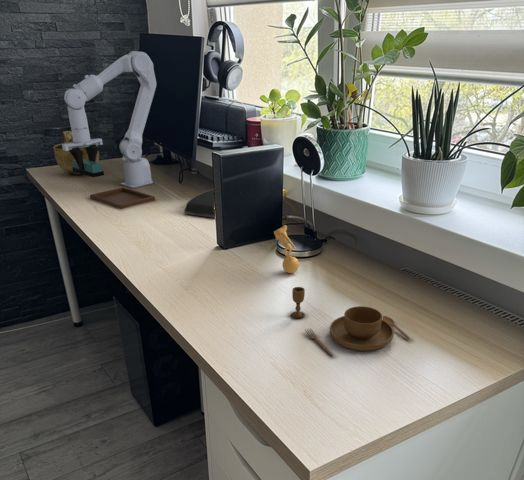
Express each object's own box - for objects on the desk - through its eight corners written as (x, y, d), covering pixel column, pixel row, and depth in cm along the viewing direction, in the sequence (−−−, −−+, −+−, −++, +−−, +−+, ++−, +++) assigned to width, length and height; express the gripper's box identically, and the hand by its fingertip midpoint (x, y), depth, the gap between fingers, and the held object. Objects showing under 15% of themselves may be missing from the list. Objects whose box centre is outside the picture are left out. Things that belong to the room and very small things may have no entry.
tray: (123, 191, 187) (122, 186, 186) (155, 200, 176) (154, 196, 176) (90, 199, 179) (89, 194, 178) (121, 209, 168) (120, 205, 167)
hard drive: (181, 214, 163) (180, 201, 161) (213, 198, 178) (212, 186, 176) (217, 219, 158) (216, 206, 156) (246, 202, 173) (246, 190, 171)
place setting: (335, 363, 91) (337, 334, 88) (286, 314, 106) (286, 288, 103) (417, 342, 96) (422, 314, 93) (359, 298, 112) (361, 273, 109)
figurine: (307, 276, 122) (309, 227, 116) (285, 282, 119) (286, 232, 113) (288, 264, 128) (288, 217, 122) (267, 270, 126) (266, 221, 119)
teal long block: (72, 171, 189) (70, 159, 186) (83, 169, 191) (80, 157, 189) (93, 177, 180) (91, 165, 178) (104, 175, 183) (102, 163, 181)
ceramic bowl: (110, 175, 207) (103, 135, 199) (67, 182, 199) (59, 140, 191) (92, 165, 222) (85, 127, 214) (51, 171, 214) (43, 132, 206)
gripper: (66, 132, 171) (75, 174, 178) (104, 126, 180) (111, 166, 187) (55, 129, 175) (64, 171, 182) (93, 124, 184) (100, 164, 191)
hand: (87, 168), depth 185 cm, fingers closed on teal long block, 4 cm apart
